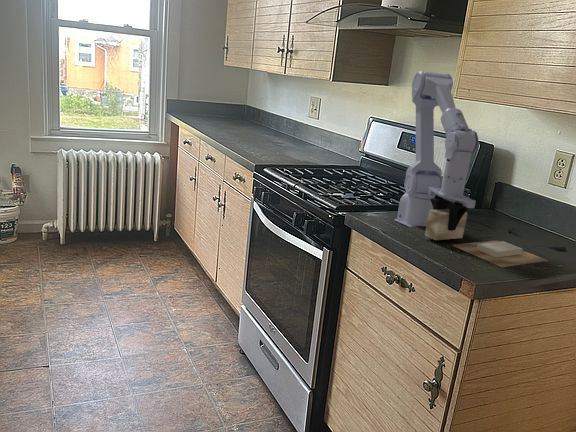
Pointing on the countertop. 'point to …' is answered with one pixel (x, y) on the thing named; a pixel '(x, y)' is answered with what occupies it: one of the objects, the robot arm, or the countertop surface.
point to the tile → (499, 249)
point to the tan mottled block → (443, 225)
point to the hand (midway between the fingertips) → (444, 227)
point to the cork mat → (500, 261)
